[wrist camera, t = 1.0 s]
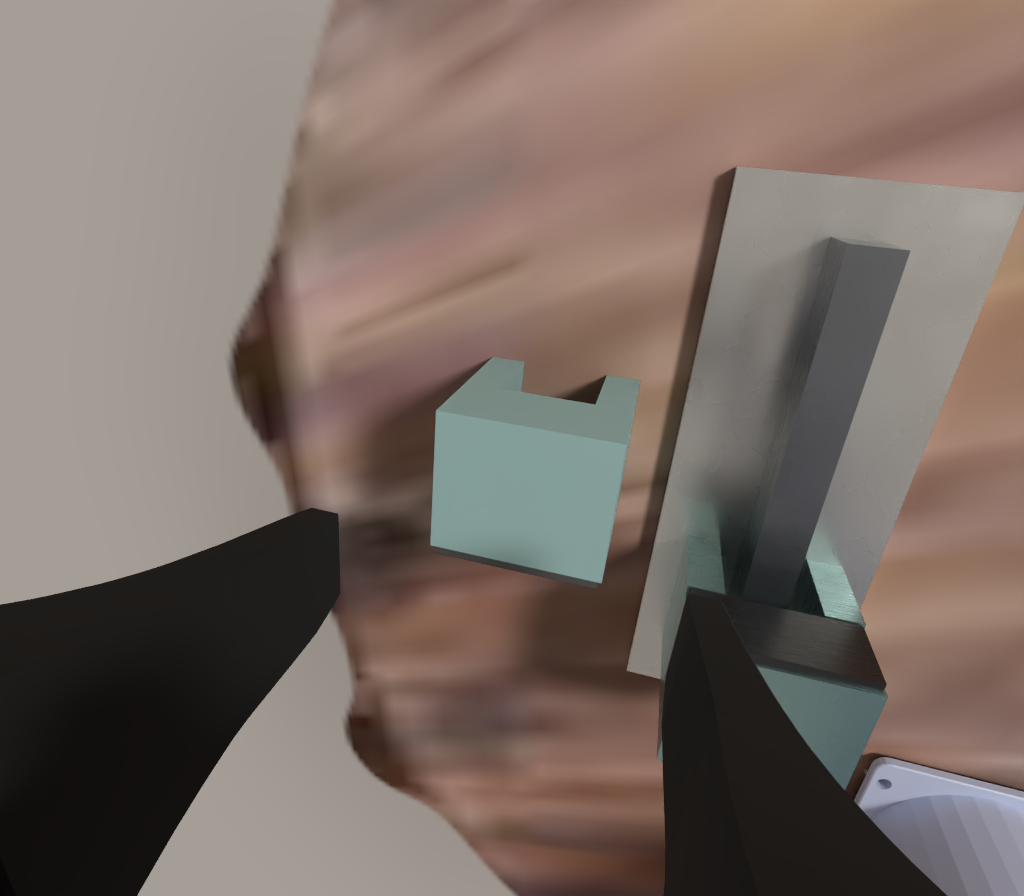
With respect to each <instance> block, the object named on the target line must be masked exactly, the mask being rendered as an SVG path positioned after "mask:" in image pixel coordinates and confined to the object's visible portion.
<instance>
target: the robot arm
mask: <svg viewBox="0 0 1024 896" xmlns="http://www.w3.org/2000/svg"><path fill="white" fill-rule="evenodd" d="M339 594H340V565H339V523H338V514H337V513H332V512H328V511H323V510H319V509H314V508H310V509H307V510H304V511H301V512H299V513H296V514H293V515H291V516H288V517H286V518H283V519H281V520H278V521H276V522H273V523H271V524H269V525H266V526H264V527H261V528H259V529H257V530H254V531H252V532H249V533H247V534H244V535H242V536H239V537H237V538H235V539H232V540H230V541H227V542H225V543H222V544H220V545H218V546H215V547H212V548H209V549H207V550H204V551H201V552H198V553H196V554H193V555H190V556H188V557H185V558H182V559H180V560H177V561H174V562H172V563H169V564H166V565H163V566H160V567H157V568H153V569H151V570H147V571H144V572H141V573H138V574H134V575H131V576H127V577H124V578H120V579H117V580H113V581H109V582H106V583H102V584H98V585H93V586H89V587H85V588H81V589H76V590H72V591H67V592H63V593H59V594H54V595H50V596H45V597H40V598H36V599H31V600H25V601H19V602H14V603H8V604H2V605H0V896H137V895H138V893H139V891H140V889H141V888H142V886H143V884H144V883H145V881H146V879H147V877H148V876H149V874H150V872H151V871H152V869H153V867H154V865H155V863H156V862H157V860H158V858H159V857H160V855H161V853H162V851H163V850H164V848H165V846H166V845H167V843H168V841H169V839H170V838H171V836H172V834H173V833H174V831H175V829H176V828H177V826H178V824H179V823H180V821H181V820H182V818H183V816H184V815H185V813H186V811H187V810H188V808H189V807H190V805H191V803H192V802H193V800H194V798H195V797H196V795H197V794H198V792H199V790H200V789H201V787H202V785H203V784H204V782H205V781H206V779H207V778H208V776H209V775H210V773H211V772H212V770H213V769H214V767H215V765H216V764H217V762H218V761H219V759H220V758H221V756H222V755H223V753H224V752H225V750H226V749H227V747H228V746H229V744H230V743H231V741H232V740H233V738H234V737H235V735H236V734H237V733H238V731H239V730H240V728H241V727H242V726H243V724H244V723H245V722H246V720H247V719H248V718H249V717H250V715H251V714H252V713H253V712H254V710H255V709H256V708H257V707H258V705H259V704H260V703H261V702H262V700H263V699H264V698H265V697H266V695H267V694H268V693H269V692H270V691H271V689H272V688H273V687H274V686H275V684H276V683H277V682H278V681H279V679H280V678H281V677H282V676H283V674H284V673H285V672H286V671H287V669H288V668H289V667H290V666H291V665H292V663H293V662H294V661H295V660H296V658H297V657H298V656H299V654H300V653H301V652H302V651H303V649H304V648H305V647H306V645H307V644H308V643H309V642H310V641H311V639H312V638H313V637H314V635H315V634H316V633H317V631H318V629H319V628H320V626H321V625H322V623H323V621H324V620H325V618H326V617H327V615H328V613H329V612H330V610H331V608H332V606H333V605H334V603H335V601H336V599H337V598H338V596H339ZM662 756H663V786H664V814H665V843H666V844H665V885H664V896H1024V792H1023V791H1019V790H1015V789H1011V788H1007V787H1003V786H999V785H995V784H991V783H987V782H983V781H979V780H975V779H971V778H968V777H964V776H960V775H956V774H952V773H948V772H944V771H940V770H936V769H932V768H928V767H924V766H920V765H916V764H912V763H908V762H904V761H900V760H897V759H893V758H887V757H882V758H878V759H876V760H874V761H873V762H872V764H871V766H870V768H869V770H868V772H867V774H866V776H865V778H864V780H863V782H862V785H861V787H860V789H859V791H858V793H857V795H856V797H855V799H854V800H853V799H852V798H851V797H850V796H849V795H848V794H847V792H846V791H845V790H844V789H843V788H842V787H841V785H840V784H839V783H838V782H837V781H836V780H835V778H834V777H833V776H832V775H831V773H830V772H829V771H828V770H827V768H826V767H825V766H824V765H823V763H822V762H821V761H820V760H819V758H818V757H817V756H816V755H815V753H814V752H813V751H812V750H811V748H810V747H809V746H808V744H807V743H806V742H805V740H804V739H803V737H802V736H801V735H800V733H799V732H798V730H797V729H796V728H795V726H794V725H793V723H792V722H791V720H790V719H789V717H788V716H787V714H786V713H785V711H784V710H783V708H782V707H781V705H780V704H779V702H778V701H777V699H776V697H775V696H774V694H773V693H772V691H771V689H770V688H769V686H768V684H767V683H766V681H765V679H764V678H763V676H762V674H761V673H760V671H759V669H758V668H757V666H756V664H755V663H754V661H753V659H752V657H751V656H750V654H749V652H748V650H747V648H746V646H745V645H744V643H743V641H742V639H741V637H740V635H739V633H738V631H737V629H736V627H735V625H734V624H733V622H732V620H731V617H730V615H729V613H728V611H727V609H726V607H725V606H724V604H723V603H722V601H721V600H717V599H713V598H708V597H704V596H699V595H695V594H690V593H687V597H686V601H685V605H684V608H683V612H682V616H681V620H680V623H679V627H678V631H677V635H676V638H675V642H674V646H673V650H672V653H671V657H670V661H669V665H668V669H667V672H666V678H665V690H664V701H663V713H662ZM881 779H886V780H881Z"/></svg>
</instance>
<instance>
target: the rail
mask: <svg viewBox="0 0 1024 896" xmlns="http://www.w3.org/2000/svg"><path fill="white" fill-rule="evenodd" d="M1023 205H1024V193H1018V192H1007V191H996V190H985V189H975V188H964V187H953V186H943V185H932V184H921V183H911V182H900V181H889V180H879V179H868V178H857V177H847V176H836V175H825V174H814V173H804V172H793V171H782V170H772V169H761V168H750V167H740V166H736V168H735V173H734V178H733V182H732V187H731V191H730V196H729V200H728V205H727V210H726V214H725V219H724V223H723V228H722V232H721V237H720V242H719V246H718V251H717V255H716V260H715V264H714V269H713V274H712V278H711V283H710V287H709V292H708V297H707V301H706V306H705V310H704V315H703V319H702V324H701V329H700V333H699V338H698V342H697V347H696V351H695V356H694V361H693V365H692V370H691V374H690V379H689V383H688V388H687V393H686V397H685V402H684V406H683V411H682V415H681V420H680V425H679V429H678V434H677V438H676V443H675V447H674V452H673V457H672V461H671V466H670V470H669V475H668V480H667V484H666V489H665V493H664V498H663V502H662V507H661V512H660V516H659V521H658V525H657V530H656V534H655V539H654V544H653V548H652V553H651V557H650V562H649V566H648V571H647V576H646V580H645V585H644V589H643V594H642V598H641V603H640V608H639V612H638V617H637V621H636V626H635V630H634V635H633V640H632V644H631V649H630V653H629V658H628V663H627V671H630V672H634V673H638V674H642V675H646V676H650V677H654V678H658V679H660V699H659V722H658V744H657V759H658V760H662V761H663V756H662V713H663V701H664V690H665V678H666V672H667V669H668V665H669V661H670V657H671V653H672V650H673V646H674V642H675V638H676V635H677V631H678V627H679V623H680V620H681V616H682V612H683V608H684V605H685V601H686V597H687V593H690V594H695V595H699V596H704V597H708V598H713V599H717V600H721V601H722V603H723V604H724V606H725V607H726V609H727V611H728V613H729V615H730V617H731V620H732V622H733V624H734V625H735V627H736V629H737V631H738V633H739V635H740V637H741V639H742V641H743V643H744V645H745V646H746V648H747V650H748V652H749V654H750V656H751V657H752V659H753V661H754V663H755V664H756V666H757V668H758V669H759V671H760V673H761V674H762V676H763V678H764V679H765V681H766V683H767V684H768V686H769V688H770V689H771V691H772V693H773V694H774V696H775V697H776V699H777V701H778V702H779V704H780V705H781V707H782V708H783V710H784V711H785V713H786V714H787V716H788V717H789V719H790V720H791V722H792V723H793V725H794V726H795V728H796V729H797V730H798V732H799V733H800V735H801V736H802V737H803V739H804V740H805V742H806V743H807V744H808V746H809V747H810V748H811V750H812V751H813V752H814V753H815V755H816V756H817V757H818V758H819V760H820V761H821V762H822V763H823V765H824V766H825V767H826V768H827V770H828V771H829V772H830V773H831V775H832V776H833V777H834V778H835V780H836V781H837V782H838V783H839V784H840V785H841V787H842V788H843V789H844V790H845V789H846V787H847V785H848V783H849V781H850V779H851V776H852V774H853V772H854V770H855V768H856V766H857V763H858V761H859V759H860V757H861V755H862V753H863V750H864V748H865V746H866V744H867V742H868V740H869V737H870V735H871V733H872V731H873V729H874V727H875V724H876V722H877V720H878V718H879V716H880V714H881V711H882V709H883V707H884V705H885V703H886V701H887V698H888V696H887V694H886V691H885V687H886V685H887V684H886V682H885V679H884V677H883V674H882V672H881V669H880V667H879V664H878V662H877V660H876V657H875V655H874V652H873V650H872V647H871V645H870V642H869V640H868V637H867V635H866V632H865V630H864V628H865V626H866V624H865V621H864V619H863V616H862V614H861V612H860V608H861V606H862V603H863V601H864V598H865V596H866V593H867V591H868V588H869V586H870V583H871V581H872V578H873V576H874V574H875V571H876V569H877V566H878V564H879V561H880V559H881V556H882V554H883V551H884V549H885V546H886V544H887V541H888V539H889V536H890V534H891V531H892V529H893V526H894V524H895V522H896V519H897V517H898V514H899V512H900V509H901V507H902V504H903V502H904V499H905V497H906V494H907V492H908V489H909V487H910V484H911V482H912V479H913V477H914V474H915V472H916V470H917V467H918V465H919V462H920V460H921V457H922V455H923V452H924V450H925V447H926V445H927V442H928V440H929V437H930V435H931V432H932V430H933V427H934V425H935V423H936V420H937V418H938V415H939V413H940V410H941V408H942V405H943V403H944V400H945V398H946V395H947V393H948V390H949V388H950V385H951V383H952V380H953V378H954V375H955V373H956V371H957V368H958V366H959V363H960V361H961V358H962V356H963V353H964V351H965V348H966V346H967V343H968V341H969V338H970V336H971V333H972V331H973V328H974V326H975V323H976V321H977V319H978V316H979V314H980V311H981V309H982V306H983V304H984V301H985V299H986V296H987V294H988V291H989V289H990V286H991V284H992V281H993V279H994V276H995V274H996V271H997V269H998V267H999V264H1000V262H1001V259H1002V257H1003V254H1004V252H1005V249H1006V247H1007V244H1008V242H1009V239H1010V237H1011V234H1012V232H1013V229H1014V227H1015V224H1016V222H1017V220H1018V217H1019V215H1020V212H1021V210H1022V207H1023Z"/></svg>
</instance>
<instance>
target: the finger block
mask: <svg viewBox="0 0 1024 896" xmlns="http://www.w3.org/2000/svg"><path fill="white" fill-rule="evenodd" d="M523 370H524V362H522V361H516V360H509V359H503V358H497V357H492V358H491V359H490V360H489V361H488V362H487V363H486V364H485V365H484V366H483V367H482V368H481V369H480V370H478V371H477V372H476V373H475V374H474V375H473V376H472V377H471V378H470V379H469V380H468V381H467V382H466V383H465V384H464V385H463V386H461V387H460V388H459V389H458V390H457V391H456V392H455V393H454V394H453V395H452V396H451V397H450V398H449V399H448V400H447V401H446V402H444V403H443V404H442V405H441V406H440V407H439V408H438V409H437V410H436V423H435V447H434V471H433V495H432V519H431V543H430V545H432V546H435V553H438V554H442V555H447V556H451V557H456V558H460V559H464V560H469V561H473V562H478V563H482V564H487V565H491V566H496V567H500V568H504V569H509V570H513V571H518V572H522V573H527V574H531V575H535V576H540V577H544V578H549V579H553V580H558V581H562V582H567V583H571V584H575V585H580V586H584V587H589V588H593V589H597V587H598V583H602V579H603V574H604V569H605V564H606V559H607V554H608V549H609V545H610V540H611V535H612V530H613V525H614V520H615V515H616V510H617V505H618V500H619V494H620V489H621V483H622V478H623V473H624V467H625V462H626V456H627V451H628V445H629V440H630V435H631V429H632V424H633V418H634V413H635V407H636V402H637V397H638V391H639V386H640V380H634V379H628V378H622V377H616V376H609V375H607V376H606V379H605V381H604V384H603V386H602V389H601V392H600V394H599V397H598V399H597V402H596V405H595V404H589V403H583V402H577V401H571V400H565V399H560V398H554V397H548V396H542V395H536V394H530V393H524V392H521V389H522V380H523Z"/></svg>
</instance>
